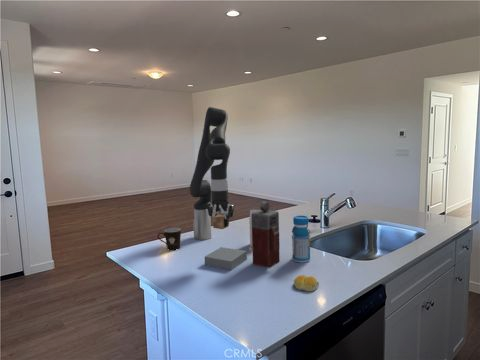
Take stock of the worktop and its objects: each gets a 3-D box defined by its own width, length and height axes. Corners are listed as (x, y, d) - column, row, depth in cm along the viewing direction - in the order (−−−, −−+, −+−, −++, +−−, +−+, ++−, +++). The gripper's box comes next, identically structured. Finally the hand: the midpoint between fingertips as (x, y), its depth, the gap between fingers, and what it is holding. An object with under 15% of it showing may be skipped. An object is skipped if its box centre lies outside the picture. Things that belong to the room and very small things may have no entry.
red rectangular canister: (274, 269, 141) (272, 205, 137) (252, 263, 147) (250, 202, 144) (284, 262, 148) (283, 201, 144) (263, 257, 154) (261, 199, 151)
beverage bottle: (299, 264, 145) (299, 220, 142) (288, 258, 152) (287, 216, 150) (314, 260, 148) (314, 217, 146) (302, 255, 156) (302, 213, 153)
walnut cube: (213, 227, 147) (212, 217, 146) (219, 225, 151) (218, 214, 150) (222, 229, 144) (222, 218, 143) (228, 226, 148) (228, 215, 148)
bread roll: (298, 280, 129) (298, 270, 129) (320, 285, 124) (320, 275, 124) (290, 288, 122) (289, 278, 122) (313, 294, 118) (313, 283, 117)
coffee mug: (185, 246, 174) (184, 228, 173) (175, 252, 166) (174, 233, 165) (167, 244, 179) (166, 226, 178) (157, 249, 171) (155, 230, 170)
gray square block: (204, 265, 148) (204, 256, 147) (221, 255, 160) (221, 247, 159) (231, 270, 141) (231, 261, 140) (246, 259, 153) (246, 251, 152)
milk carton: (263, 247, 168) (262, 211, 165) (250, 247, 169) (249, 211, 167) (265, 243, 175) (264, 208, 172) (252, 243, 176) (251, 208, 174)
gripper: (201, 189, 146) (203, 226, 148) (228, 191, 138) (230, 230, 141) (211, 186, 152) (212, 222, 154) (237, 188, 145) (238, 225, 147)
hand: (221, 226), depth 147 cm, fingers closed on walnut cube, 5 cm apart
